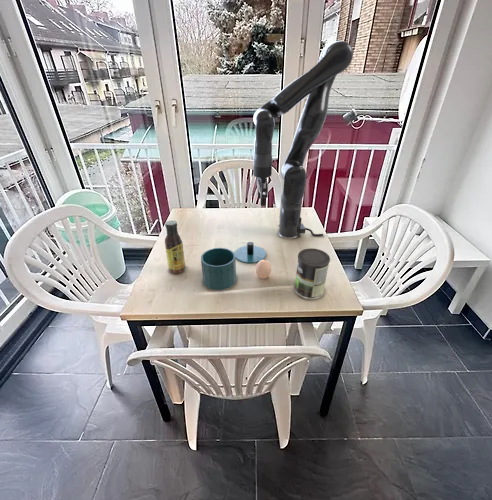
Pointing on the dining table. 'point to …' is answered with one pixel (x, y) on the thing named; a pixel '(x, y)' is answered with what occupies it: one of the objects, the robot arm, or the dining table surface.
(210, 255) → the pot
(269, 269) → the egg
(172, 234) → the sauce bottle
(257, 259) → the pot lid
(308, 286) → the coffee can
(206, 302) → the dining table surface
